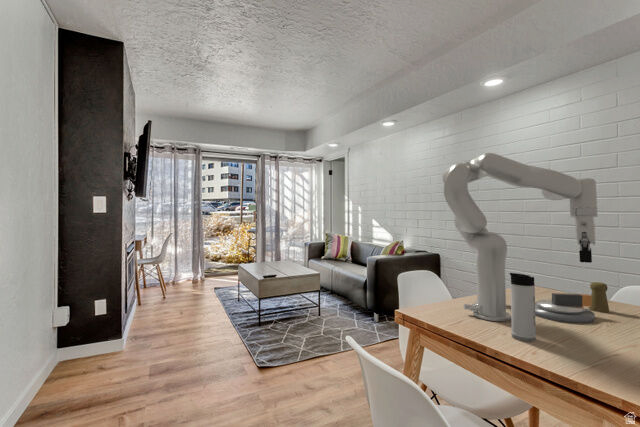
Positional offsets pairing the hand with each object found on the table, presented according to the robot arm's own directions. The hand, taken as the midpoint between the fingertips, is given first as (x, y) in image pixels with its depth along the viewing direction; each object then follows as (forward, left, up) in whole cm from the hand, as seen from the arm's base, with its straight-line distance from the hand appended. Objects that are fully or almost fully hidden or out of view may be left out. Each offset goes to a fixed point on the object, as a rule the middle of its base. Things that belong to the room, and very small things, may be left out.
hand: (585, 260), depth 112 cm
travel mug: (-30, -21, -22) cm, 43 cm away
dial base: (-6, +6, -21) cm, 23 cm away
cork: (+12, +14, -22) cm, 28 cm away
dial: (-4, +6, -19) cm, 20 cm away
